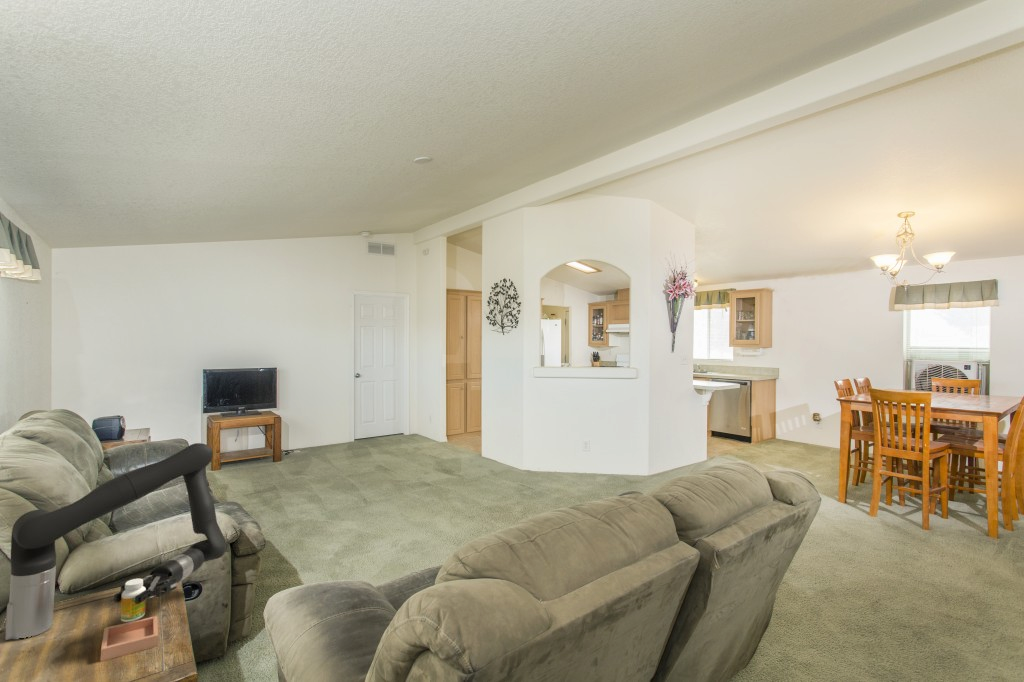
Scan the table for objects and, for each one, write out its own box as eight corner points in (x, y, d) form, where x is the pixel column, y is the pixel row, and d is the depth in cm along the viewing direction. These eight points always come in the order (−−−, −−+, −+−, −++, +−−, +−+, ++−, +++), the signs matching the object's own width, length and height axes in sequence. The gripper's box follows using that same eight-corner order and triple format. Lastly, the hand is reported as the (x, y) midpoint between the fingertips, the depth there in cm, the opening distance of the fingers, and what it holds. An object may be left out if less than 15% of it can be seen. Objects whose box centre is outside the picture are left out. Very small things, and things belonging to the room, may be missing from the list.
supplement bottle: (131, 623, 133) (132, 587, 133) (115, 620, 134) (116, 585, 134) (150, 613, 138) (151, 578, 139) (134, 610, 140) (135, 576, 140)
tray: (100, 661, 127) (101, 649, 128) (103, 639, 137) (104, 628, 137) (157, 646, 135) (158, 635, 135) (156, 626, 144) (157, 615, 144)
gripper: (150, 558, 151) (101, 584, 134) (195, 560, 150) (151, 587, 133) (149, 582, 151) (100, 612, 134) (194, 585, 150) (150, 615, 133)
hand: (126, 599), depth 134 cm, fingers closed on supplement bottle, 5 cm apart
